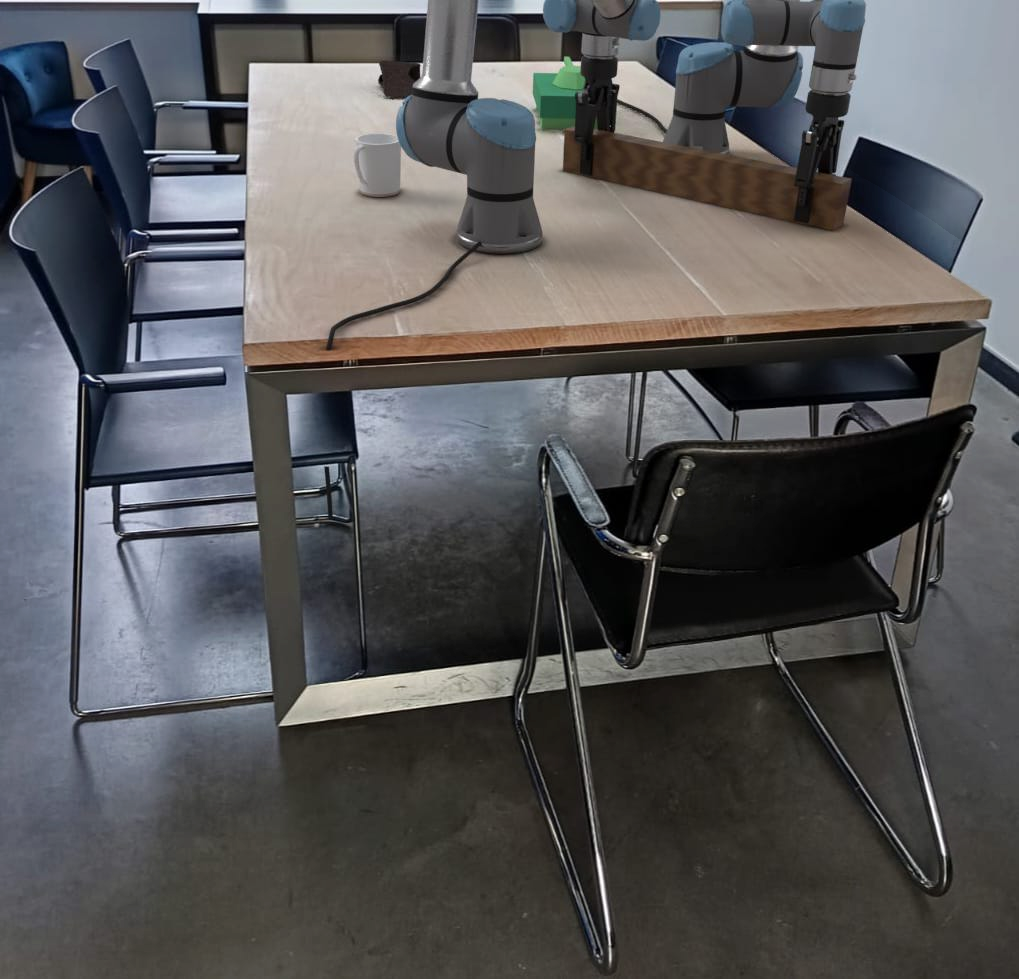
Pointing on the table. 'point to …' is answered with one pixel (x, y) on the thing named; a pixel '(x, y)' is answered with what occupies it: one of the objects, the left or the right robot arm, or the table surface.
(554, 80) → the green tank
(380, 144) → the mug
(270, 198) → the table surface
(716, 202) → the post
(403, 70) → the axe head
